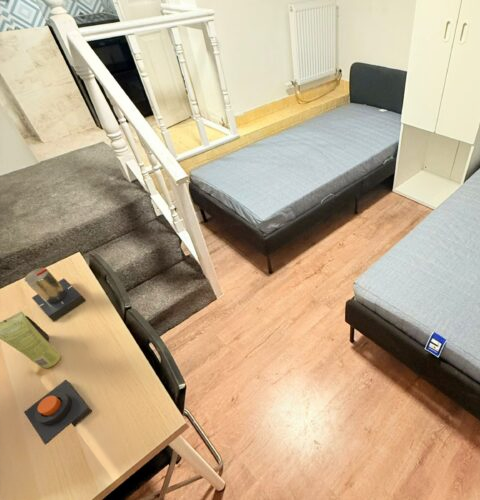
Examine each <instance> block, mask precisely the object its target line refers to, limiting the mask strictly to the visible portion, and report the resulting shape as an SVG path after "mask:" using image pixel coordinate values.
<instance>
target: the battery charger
mask: <svg viewBox="0 0 480 500" xmlns="http://www.w3.org/2000/svg"><path fill="white" fill-rule="evenodd" d="M25 316H26V318H27V319H28V320H29V322H30V323H31V324H32V325H33V326H34V328H35V329H36V330H37V331H38V332H39V333H40V334H41V335H42V336H43V337H44V338H45V339H46V341H47V342H48V343H49V334H48V333H47V332H46V331H45V330H43V329H42V328H41V327H40V326H39V325H38V324H37V323H36V322H35V321H34V320H33V319H31V318H30V317H29V316H28V315H25Z"/></svg>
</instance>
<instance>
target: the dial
mask: <svg viewBox="0 0 480 500" xmlns="http://www.w3.org/2000/svg"><path fill="white" fill-rule="evenodd" d="M24 282H25V283H26V284H27V285H28V286H29V287H30V288H31V289H32V290H33V291H34V292H35V293H36V295H37V294H38V295H39V296H40V297H41V298H42V299H43V300H44V301H45V302H46V303H48V304H53V303H56V302H59V301H60V300H62V299H63V298H64V297H65V296H66V294H67V291H66V290H65V289H64V287H63V286H62V285H61V284H60V283H59V280H57V278H56V277H55V276H54V275H53V274H52V273H51V272H50V271H49V270H48V269H47V267H39V268H36V269H33V270H32V271H29V273H28V274H27V275H26V276H25V277H24Z"/></svg>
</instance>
